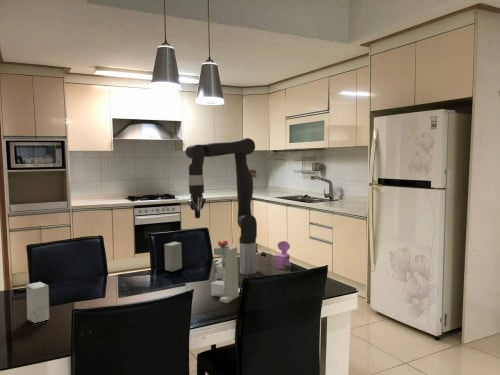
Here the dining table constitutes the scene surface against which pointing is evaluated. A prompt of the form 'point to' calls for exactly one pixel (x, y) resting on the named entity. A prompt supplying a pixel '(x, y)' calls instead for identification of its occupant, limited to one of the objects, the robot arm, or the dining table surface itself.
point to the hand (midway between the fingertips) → (197, 217)
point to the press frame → (229, 272)
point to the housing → (218, 288)
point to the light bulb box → (219, 275)
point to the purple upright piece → (282, 255)
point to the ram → (222, 257)
